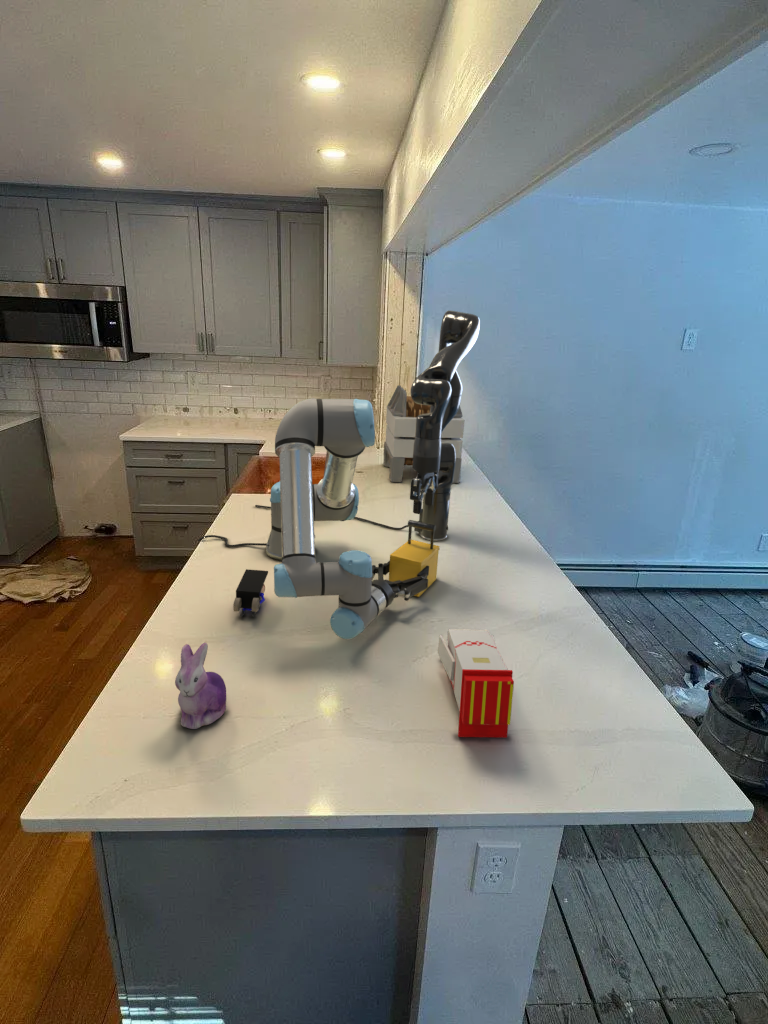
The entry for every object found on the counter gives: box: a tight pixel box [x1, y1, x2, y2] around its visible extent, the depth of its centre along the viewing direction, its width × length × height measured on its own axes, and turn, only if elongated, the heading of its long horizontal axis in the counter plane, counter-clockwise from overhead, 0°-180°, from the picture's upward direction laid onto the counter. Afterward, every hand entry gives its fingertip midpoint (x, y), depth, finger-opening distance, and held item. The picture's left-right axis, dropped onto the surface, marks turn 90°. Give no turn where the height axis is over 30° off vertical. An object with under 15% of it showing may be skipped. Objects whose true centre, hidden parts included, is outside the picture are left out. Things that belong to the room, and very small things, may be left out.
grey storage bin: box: [383, 384, 465, 484], centre depth 268 cm, size 34×33×41 cm
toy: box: [437, 628, 515, 738], centre depth 117 cm, size 12×13×30 cm
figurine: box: [174, 642, 227, 730], centre depth 106 cm, size 9×10×15 cm
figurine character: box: [232, 568, 269, 617], centre depth 147 cm, size 7×8×15 cm
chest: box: [388, 550, 440, 598], centre depth 162 cm, size 13×10×9 cm
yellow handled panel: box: [389, 519, 441, 567], centre depth 160 cm, size 14×10×9 cm
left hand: (410, 566), depth 160 cm, fingers closed on chest, 9 cm apart
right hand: (423, 509), depth 160 cm, fingers open, 8 cm apart
